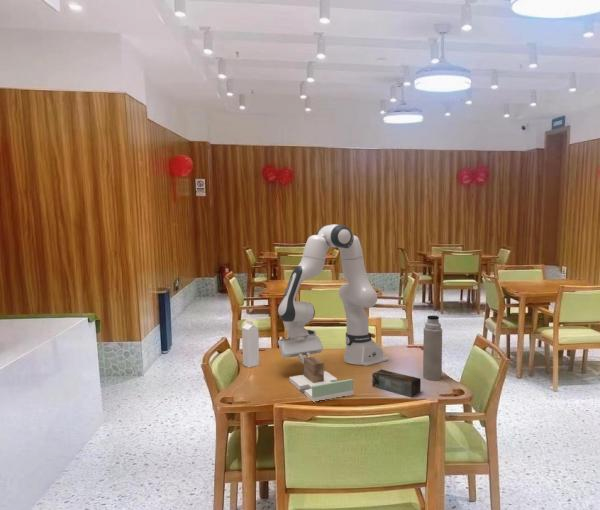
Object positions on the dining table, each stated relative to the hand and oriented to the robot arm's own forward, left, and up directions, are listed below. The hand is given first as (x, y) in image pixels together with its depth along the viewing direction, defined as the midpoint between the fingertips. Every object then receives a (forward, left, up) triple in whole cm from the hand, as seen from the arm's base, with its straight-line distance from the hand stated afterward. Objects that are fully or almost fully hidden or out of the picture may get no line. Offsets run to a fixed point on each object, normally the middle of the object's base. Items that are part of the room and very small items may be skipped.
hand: (306, 362), depth 201 cm
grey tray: (0, +14, -7) cm, 16 cm away
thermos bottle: (-51, +25, -7) cm, 57 cm away
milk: (+18, -27, -7) cm, 33 cm away
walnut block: (0, +8, -5) cm, 9 cm away
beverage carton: (-28, +29, -7) cm, 41 cm away
